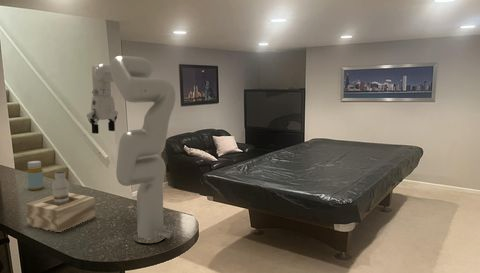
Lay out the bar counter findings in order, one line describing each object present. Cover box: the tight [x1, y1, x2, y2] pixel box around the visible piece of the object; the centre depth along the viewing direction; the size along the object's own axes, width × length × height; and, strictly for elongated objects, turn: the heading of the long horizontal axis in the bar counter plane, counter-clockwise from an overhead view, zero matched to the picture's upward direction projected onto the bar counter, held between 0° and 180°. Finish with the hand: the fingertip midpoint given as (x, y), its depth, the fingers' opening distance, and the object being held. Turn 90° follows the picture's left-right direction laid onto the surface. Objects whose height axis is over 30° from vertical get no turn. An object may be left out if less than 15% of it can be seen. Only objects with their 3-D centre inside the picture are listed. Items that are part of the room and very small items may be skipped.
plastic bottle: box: [51, 171, 70, 206], centre depth 141 cm, size 6×7×20 cm
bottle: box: [26, 160, 44, 191], centre depth 185 cm, size 7×7×15 cm
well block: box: [25, 192, 96, 233], centre depth 142 cm, size 18×18×9 cm
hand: (103, 132), depth 151 cm, fingers open, 9 cm apart
